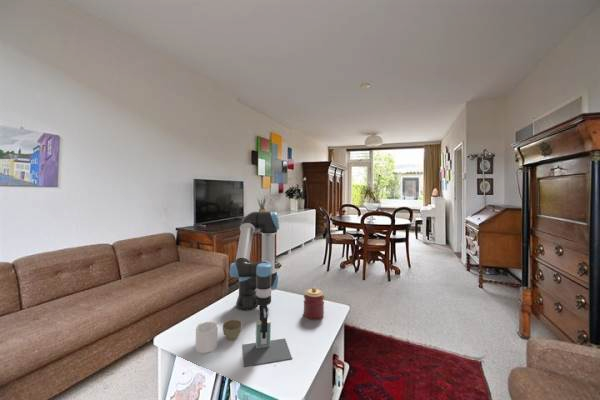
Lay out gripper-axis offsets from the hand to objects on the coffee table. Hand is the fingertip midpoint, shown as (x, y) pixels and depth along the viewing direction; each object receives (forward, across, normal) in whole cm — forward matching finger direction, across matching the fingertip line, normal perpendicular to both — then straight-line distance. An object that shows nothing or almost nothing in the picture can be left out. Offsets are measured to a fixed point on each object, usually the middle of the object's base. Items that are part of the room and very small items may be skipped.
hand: (263, 340), depth 123 cm
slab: (+2, 0, 0) cm, 2 cm away
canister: (+3, -24, +35) cm, 43 cm away
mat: (+3, +5, +1) cm, 6 cm away
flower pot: (+3, -11, -15) cm, 19 cm away
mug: (+3, -7, -28) cm, 29 cm away
